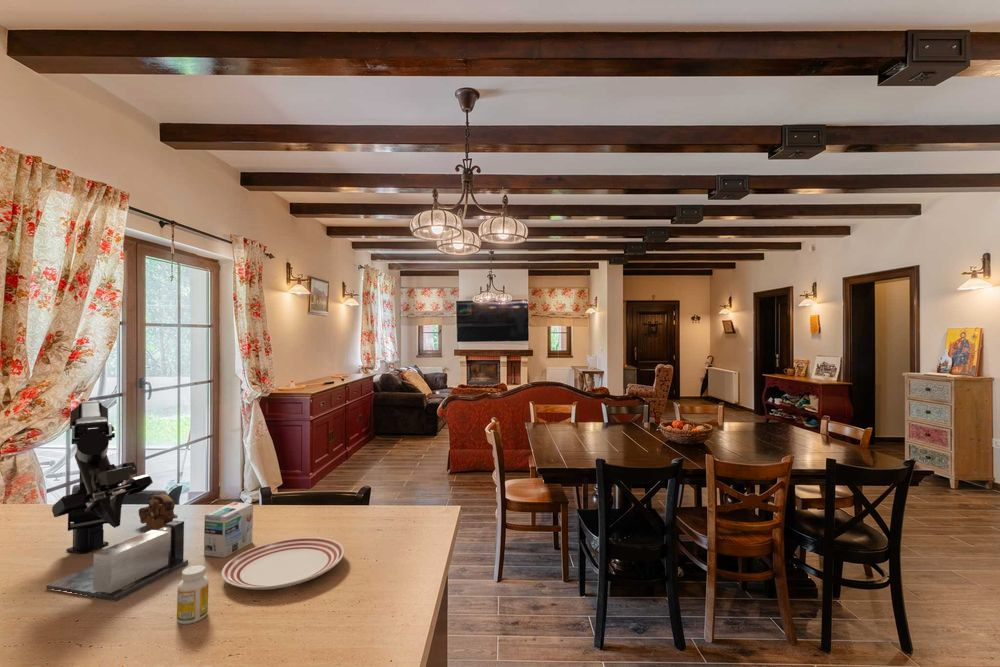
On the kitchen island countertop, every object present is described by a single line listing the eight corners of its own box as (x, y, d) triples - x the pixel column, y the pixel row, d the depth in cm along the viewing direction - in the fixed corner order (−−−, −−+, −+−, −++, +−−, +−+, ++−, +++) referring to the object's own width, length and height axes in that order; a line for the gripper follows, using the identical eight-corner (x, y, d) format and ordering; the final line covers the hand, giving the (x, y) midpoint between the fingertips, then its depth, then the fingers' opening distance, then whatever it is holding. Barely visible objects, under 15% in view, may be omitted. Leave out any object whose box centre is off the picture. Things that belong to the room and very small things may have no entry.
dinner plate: (192, 587, 110) (193, 573, 110) (284, 541, 136) (284, 529, 136) (287, 611, 101) (287, 595, 101) (366, 556, 126) (366, 544, 126)
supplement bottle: (181, 628, 94) (182, 578, 94) (172, 618, 98) (173, 570, 98) (212, 616, 98) (212, 569, 98) (202, 606, 102) (203, 561, 102)
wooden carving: (131, 527, 144) (131, 494, 145) (147, 522, 149) (148, 490, 149) (167, 536, 138) (167, 501, 138) (183, 530, 142) (183, 496, 142)
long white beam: (92, 590, 105) (93, 553, 105) (161, 557, 121) (161, 525, 121) (110, 593, 104) (111, 556, 104) (177, 560, 120) (177, 527, 120)
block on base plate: (46, 589, 108) (47, 544, 109) (128, 553, 127) (129, 515, 127) (116, 601, 104) (117, 554, 104) (191, 561, 122) (192, 522, 122)
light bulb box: (224, 558, 124) (225, 516, 125) (202, 556, 126) (203, 514, 126) (253, 541, 135) (254, 503, 135) (232, 539, 136) (233, 501, 136)
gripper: (64, 463, 107) (87, 528, 104) (153, 444, 124) (175, 499, 121) (41, 485, 110) (63, 548, 107) (130, 463, 128) (151, 517, 125)
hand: (117, 526), depth 115 cm, fingers closed
